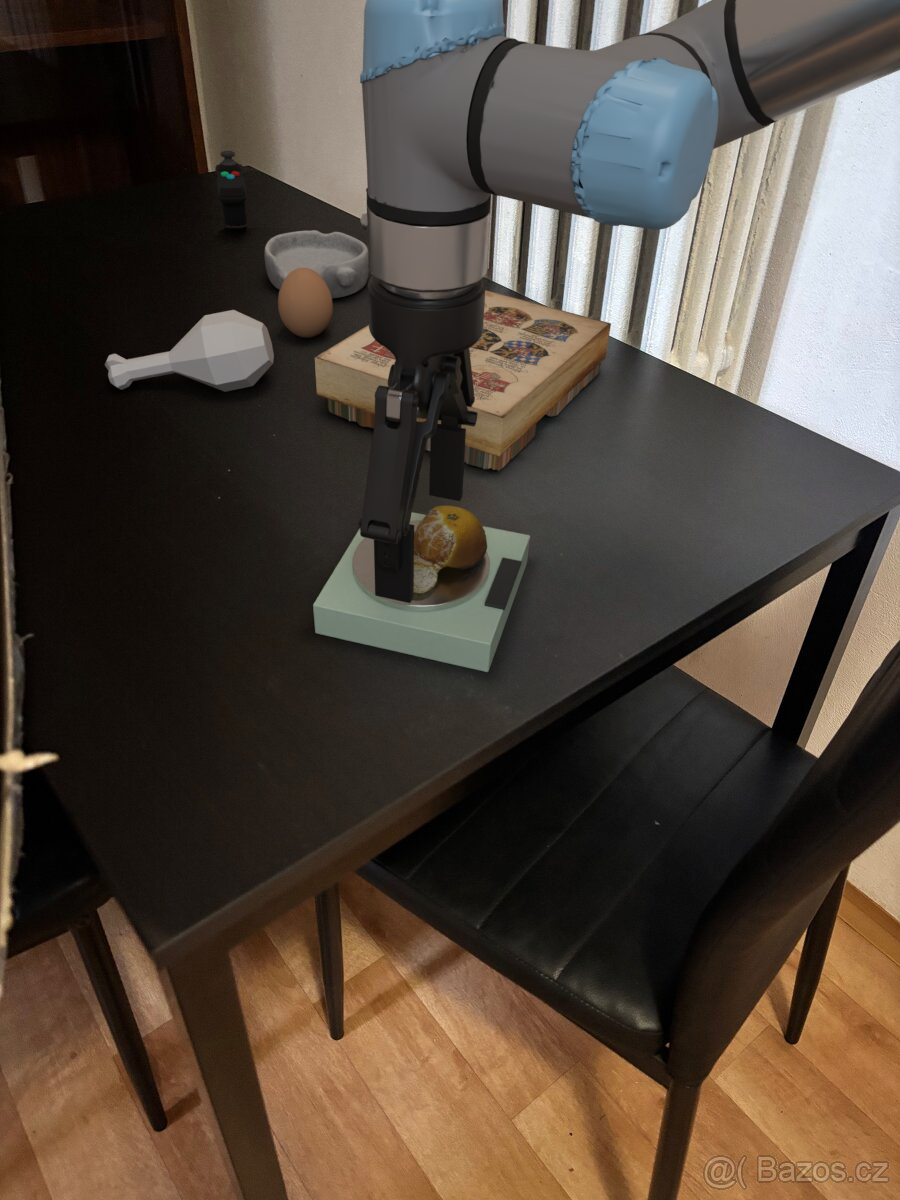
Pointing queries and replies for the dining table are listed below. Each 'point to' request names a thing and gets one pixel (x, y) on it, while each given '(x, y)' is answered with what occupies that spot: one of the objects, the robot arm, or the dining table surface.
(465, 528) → the fruit
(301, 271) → the egg
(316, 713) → the dining table surface
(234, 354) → the chicken leg
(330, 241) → the dish
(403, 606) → the scale pan
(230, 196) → the controller
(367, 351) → the book
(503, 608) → the scale
